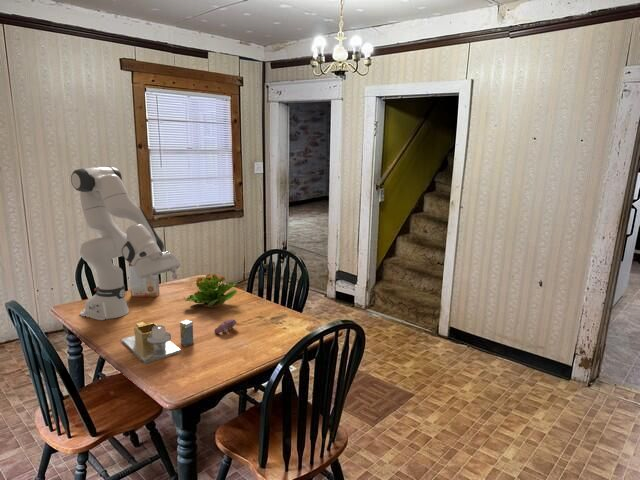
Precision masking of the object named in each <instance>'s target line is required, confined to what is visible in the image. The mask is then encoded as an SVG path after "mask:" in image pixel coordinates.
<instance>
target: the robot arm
mask: <svg viewBox="0 0 640 480" xmlns="http://www.w3.org/2000/svg"><path fill="white" fill-rule="evenodd" d="M70 182H71V185H72V187H73V188H74V189H75V190H76V191H78V192H79V195H80V196H79V197H80V204H81V209H82V213H83V215H84V218H85V221H86V222H85V223H86V225H87V227H88V228H89V229H91V230H92V231H96V232H97V233H99V234H100V235H101V237H97V238H92V239H90V240H86V241H85V242H82V243H81V245H80V247H79V248H80V249H79V253H80V256H81V258H82V260H84V261H85V262H86V263H89V265H91V266H92V267H93V268H94V271H95V272H96V276H97V277H96V278H97V284H98V286H97V287H95V288H94V289H93V291H94V292H95V294H93V296H91V297H90V298H89V299H87V300H86V301H85V305H84V309H82V310H81V311H80V312H79V315H80V316H81V317H85V316H86V317H85V318H89V317H90V319H92V320H97V321H105V319H106V320H111V319H116V318H120V317H124V316H126V315H127V314H129V312H130V309H129V306H128V304H127V303H128V302H127V300H126V295H125V294H126V286H125V284H124V283H125V282H124V275H123V274H124V271H123V269H122V268H121V267H119V266H118V265H114V264H113V260H112V259H116V258H119V257H123V258H124V260H125V261H126V262H130V263H131V264H132V265H133V266H134V271H135V273H136V275H137V276H138V278H140V279H143V278H147V277H148V279H149V280H151V281H153V282H154V284H155V285H156V284H159V285H160V279H159V280H158V279H156V278H154V277H153V276H154V275H157V274H158V275H161V274H164V273H167V272H170V273H172V275H171V278H172V280H175V279H178V276H179V275H178V274H177V270H178V269H179V268H180V266H181V261H180V260H179V259H178V257H177V256H176V255H175V254H174V253H173V252H171V251H169V250H167V251H164V250H165V244H164V242H163V240H162V239H161V238H160V236H159V235H158V234H157V233H156V230H155V228H154V227H153V225H152V223H151V222H150V220H149V218H148V216H147V214H146V213H145V211H144V210H143V208H142V207H141V206H140V205H137V204H136V203H135V202H133V200H132V198H131V197H130V195H129V193H128V190H127V188H126V186H125V184H124V182H123V177H122V173H121V172H120V170H119V169H118V168H117V167H113V166H94V167H88V168H87V167H86V168H79V169H75V170H74V171H72V173H71V175H70ZM113 217H117V218H121V219H125V220H126V219H127V220H130V221H133V222H135V223H136V224H133V225H130V226H129V227H127V228H126V230H125V232H123V231H122V230H121V228H119V226H118V225H117V223H115V221H114V218H113Z"/></svg>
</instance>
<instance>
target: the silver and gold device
mask: <svg viewBox="0 0 640 480" xmlns="http://www.w3.org/2000/svg"><path fill="white" fill-rule="evenodd" d="M171 339H172V335H171V332H168V331H166V326H165V325H163V324H157V323H156V322H152V323H151V322H150V323H145V322H144V321H141V322H136V323H135V326H134V335H131V336H127V337H124V338H123V337H122V338H121V343H122V344H123V345H125V346H126V347H127V349H128V350H129V351H131V352H132V353H133V354H134V355H135V356H136V358H138V359H139V360H140V361H141V362H142V364H143V365H146V364H149V363H151V362H155V361H158V360H161V359H164V358H167V357H171V356H174V355H177V354H180V353H182V349H181V348H179V347H178V346H177V345H176V344H174V343H173V342H172V341H171Z"/></svg>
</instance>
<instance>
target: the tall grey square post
mask: <svg viewBox="0 0 640 480" xmlns="http://www.w3.org/2000/svg"><path fill="white" fill-rule="evenodd" d="M193 323H194V322H193V321H192V320H189V319H185V320H182V321H180V322H179V328H180V344H181V345H182V346H185V347H189V346H191V345H193V344H194V324H193Z"/></svg>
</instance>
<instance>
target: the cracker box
mask: <svg viewBox="0 0 640 480" xmlns="http://www.w3.org/2000/svg"><path fill="white" fill-rule="evenodd" d="M127 262H128V261H127ZM128 273H129V277H128V278H129V288H130V297H132V298H133V297H137V298H139V297H140V298H143V297H144V298H145V297H146V298H148V297H151V298H152V297H154V298H155V297H158V296H159V295H160V294H161V293H160V283H159V284H156V285H155V284H154V282H153V281H151V280H149V279H148V277H147V278H143V279H140V278H138V276H137V275H136V273H135V271H134V266H133V265H132V264H131V263H130V262H128ZM153 277H154V278H156V279H158V280H159V281H160V278H159V277H160V276H159V274H157V275H154V276H153Z"/></svg>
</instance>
